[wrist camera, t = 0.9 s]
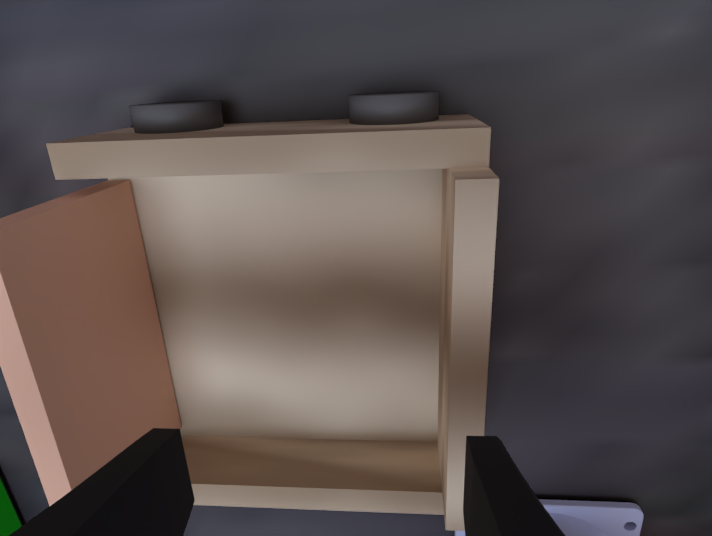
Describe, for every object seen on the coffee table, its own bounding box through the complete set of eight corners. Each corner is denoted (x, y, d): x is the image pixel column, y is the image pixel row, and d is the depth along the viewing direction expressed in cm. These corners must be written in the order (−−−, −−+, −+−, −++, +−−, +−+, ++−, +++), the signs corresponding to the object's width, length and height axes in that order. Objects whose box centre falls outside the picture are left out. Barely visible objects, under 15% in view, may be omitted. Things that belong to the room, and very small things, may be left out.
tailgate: (129, 180, 16) (-13, 234, 11) (181, 427, 20) (95, 563, 14) (106, 180, 16) (-46, 234, 11) (162, 426, 20) (69, 562, 14)
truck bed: (457, 444, 22) (475, 572, 16) (192, 437, 23) (123, 555, 17) (469, 89, 16) (504, 96, 11) (125, 104, 18) (-5, 117, 12)
